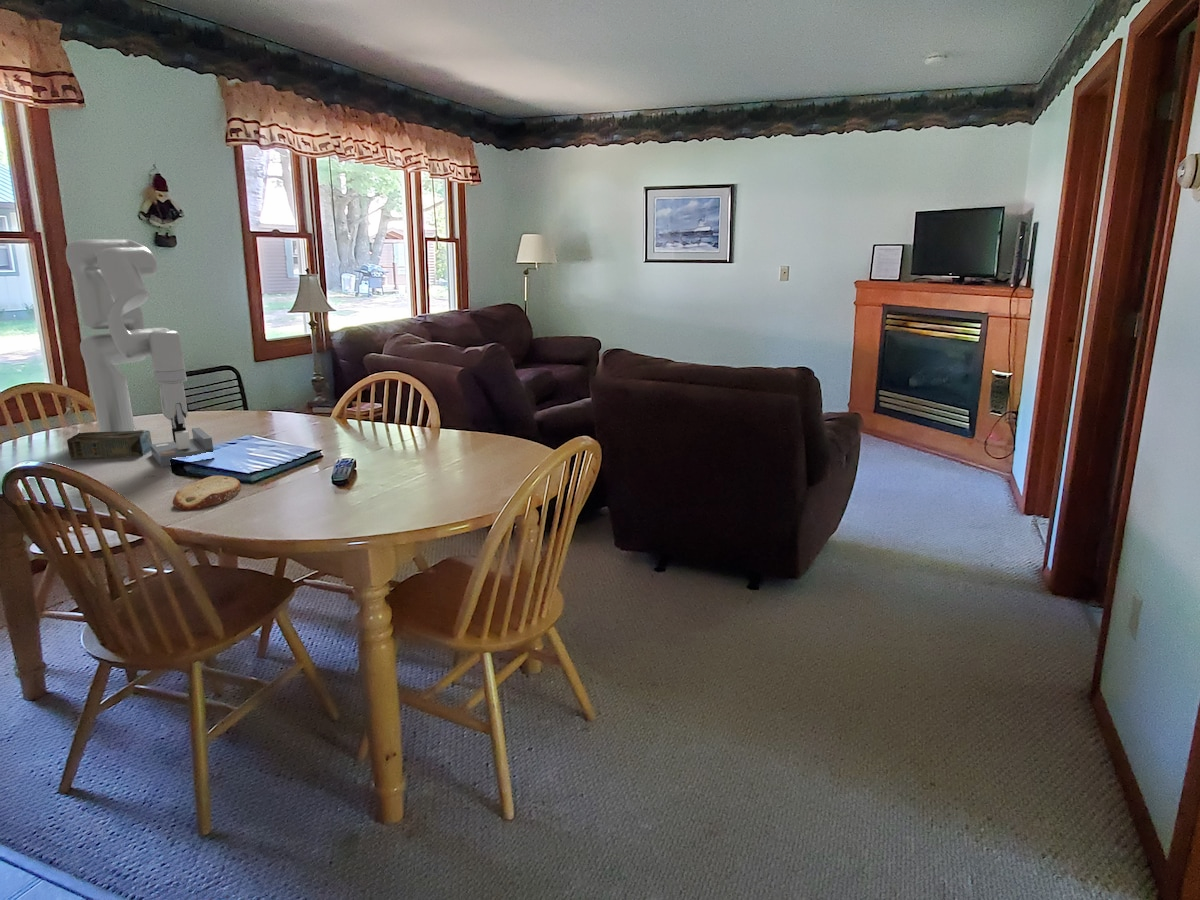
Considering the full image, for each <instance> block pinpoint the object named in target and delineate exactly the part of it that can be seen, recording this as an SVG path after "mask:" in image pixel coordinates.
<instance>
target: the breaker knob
mask: <svg viewBox="0 0 1200 900" xmlns="http://www.w3.org/2000/svg"><path fill="white" fill-rule="evenodd" d="M175 439H176V445H177V448H178V450H180V449H186V448H191V446H190V440H189V439H190V434H189V431H188V430H187V429H186V430H185V431H178V432H175Z"/></svg>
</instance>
